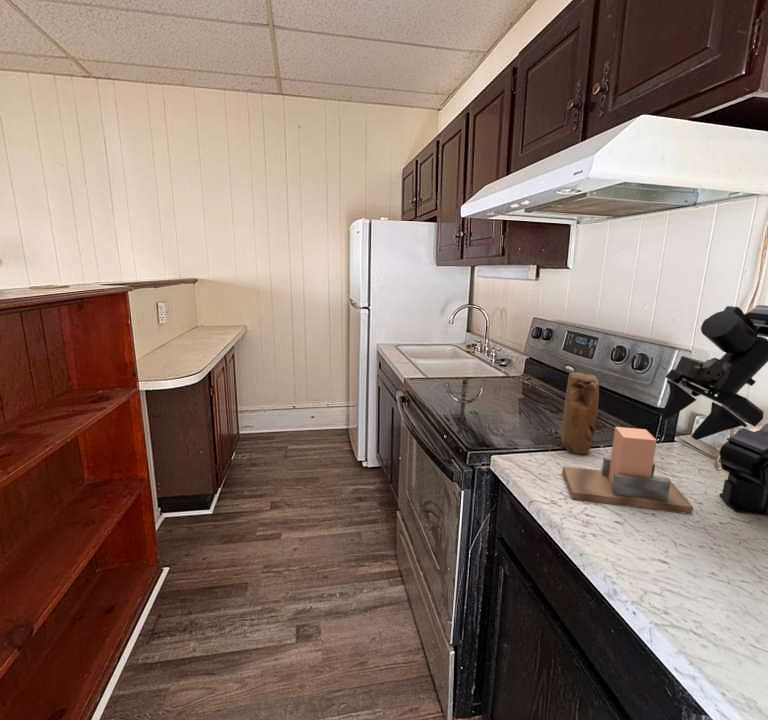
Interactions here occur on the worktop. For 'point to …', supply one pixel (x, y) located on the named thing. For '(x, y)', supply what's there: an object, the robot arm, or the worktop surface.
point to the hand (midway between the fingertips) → (677, 427)
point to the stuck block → (632, 452)
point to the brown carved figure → (580, 412)
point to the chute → (625, 489)
